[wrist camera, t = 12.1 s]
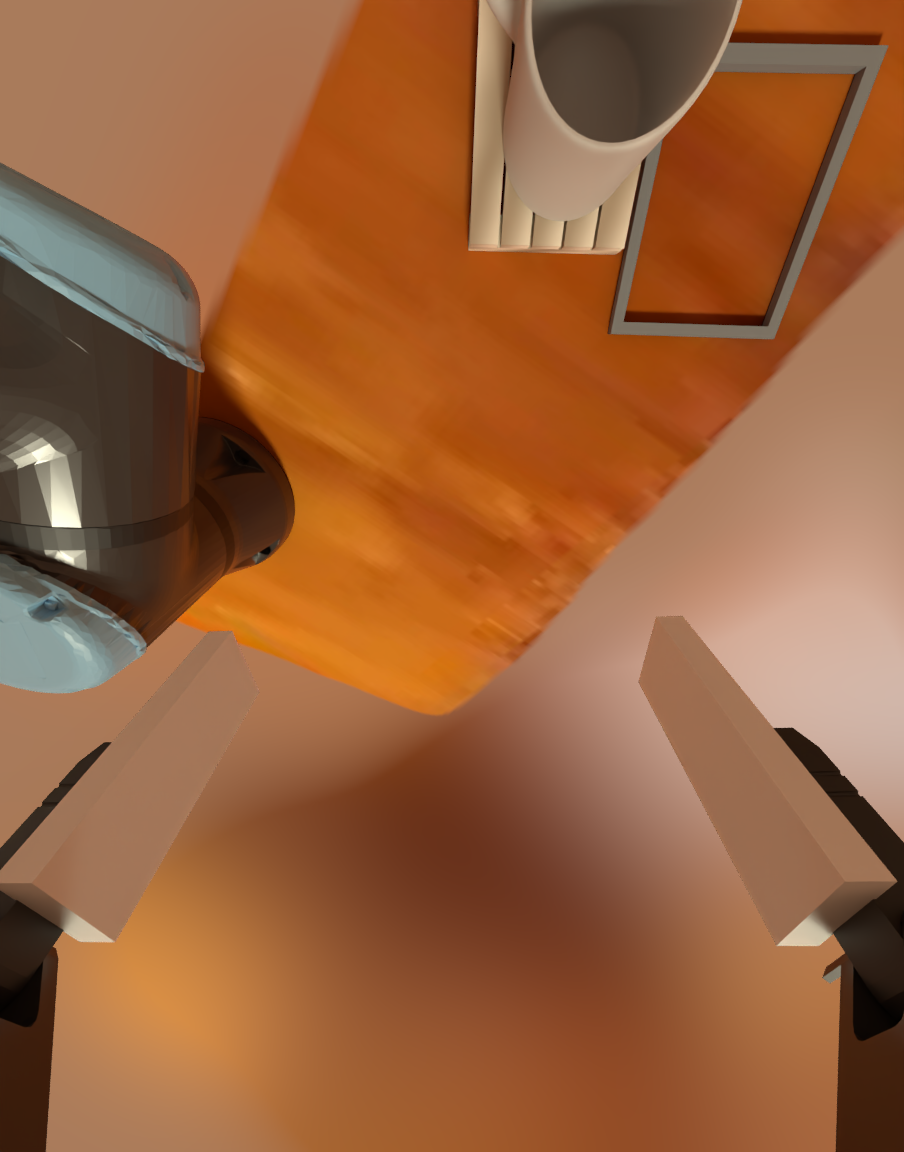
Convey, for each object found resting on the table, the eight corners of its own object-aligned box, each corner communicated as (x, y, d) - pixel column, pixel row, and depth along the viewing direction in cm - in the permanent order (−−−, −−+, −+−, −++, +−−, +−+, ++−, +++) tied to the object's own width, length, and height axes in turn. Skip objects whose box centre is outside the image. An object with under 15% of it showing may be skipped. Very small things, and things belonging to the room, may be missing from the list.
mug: (670, 114, 24) (804, -40, 14) (566, 255, 27) (618, 207, 18) (529, -92, 20) (581, -480, 11) (431, 101, 24) (405, -61, 14)
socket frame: (607, 333, 31) (610, 333, 31) (664, 50, 24) (670, 41, 23) (767, 339, 31) (773, 338, 30) (876, 54, 23) (888, 45, 23)
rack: (468, 250, 29) (468, 243, 27) (479, -34, 22) (480, -69, 20) (615, 254, 29) (625, 248, 27) (670, -31, 22) (688, -66, 20)
